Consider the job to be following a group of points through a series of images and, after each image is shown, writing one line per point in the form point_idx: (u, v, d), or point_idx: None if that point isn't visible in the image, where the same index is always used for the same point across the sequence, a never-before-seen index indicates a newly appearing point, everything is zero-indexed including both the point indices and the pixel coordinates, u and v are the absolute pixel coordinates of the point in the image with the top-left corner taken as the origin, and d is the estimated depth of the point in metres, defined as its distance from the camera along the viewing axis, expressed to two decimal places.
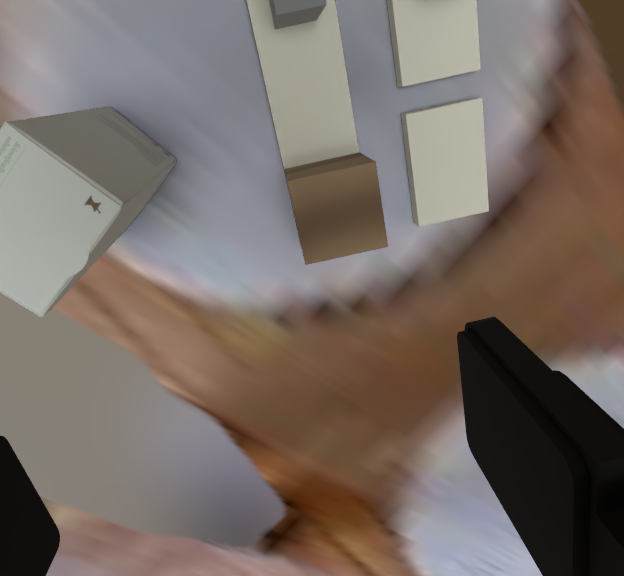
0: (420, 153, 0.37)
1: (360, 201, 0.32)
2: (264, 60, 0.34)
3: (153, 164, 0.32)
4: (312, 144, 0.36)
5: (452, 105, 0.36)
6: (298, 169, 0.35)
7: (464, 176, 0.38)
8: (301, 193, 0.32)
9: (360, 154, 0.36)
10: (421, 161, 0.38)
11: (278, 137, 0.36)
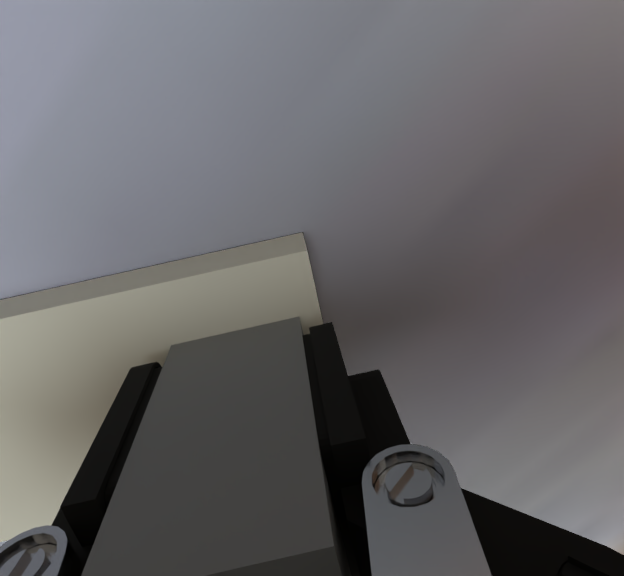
0: None
1: None
2: (73, 316, 0.10)
3: None
4: None
5: None
6: None
7: None
8: None
9: None
10: None
11: None
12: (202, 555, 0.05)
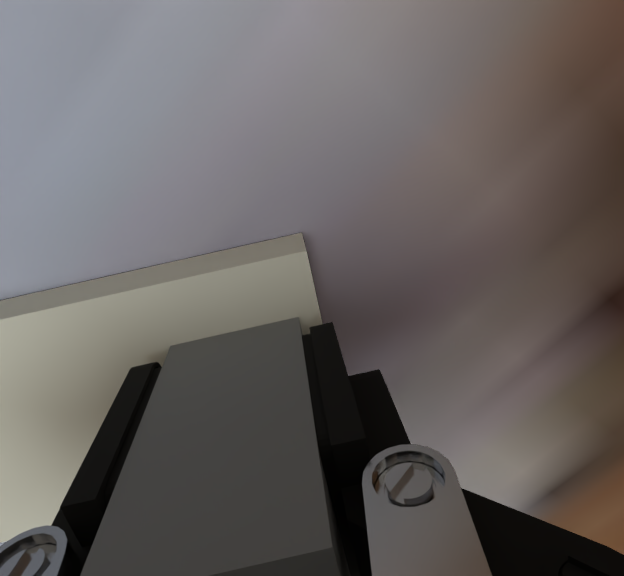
0: None
1: None
2: (73, 317, 0.10)
3: None
4: None
5: None
6: None
7: None
8: None
9: None
10: None
11: None
12: (201, 556, 0.05)
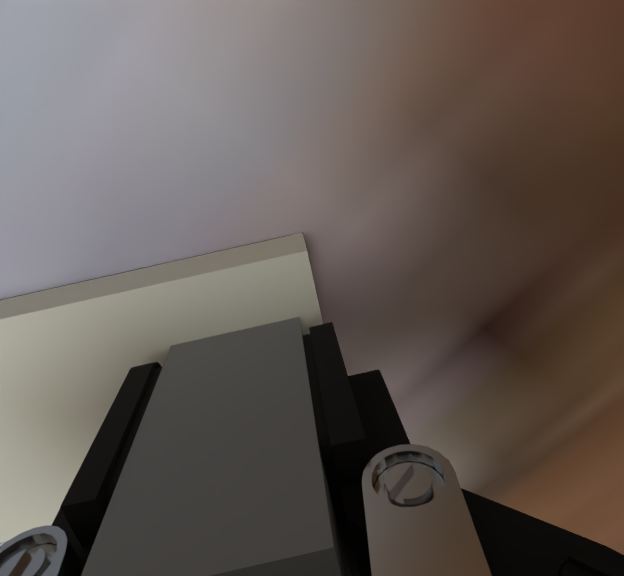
0: None
1: None
2: (73, 317, 0.10)
3: None
4: None
5: None
6: None
7: None
8: None
9: None
10: None
11: None
12: (202, 557, 0.05)
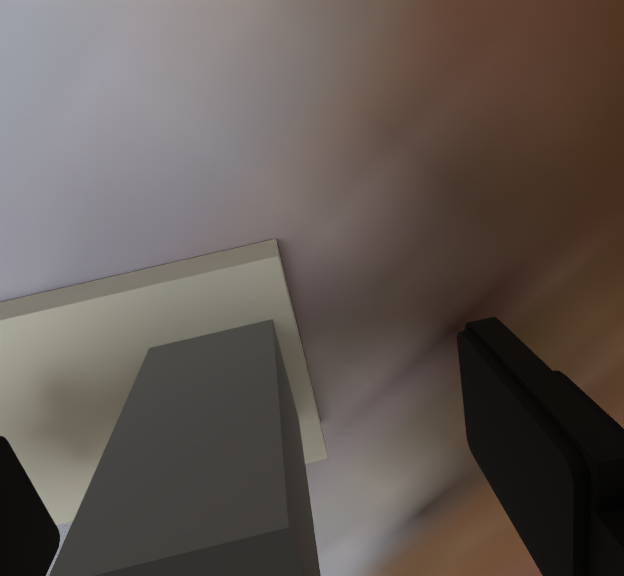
0: None
1: None
2: (54, 321, 0.11)
3: None
4: None
5: None
6: None
7: None
8: None
9: None
10: None
11: None
12: (169, 538, 0.06)
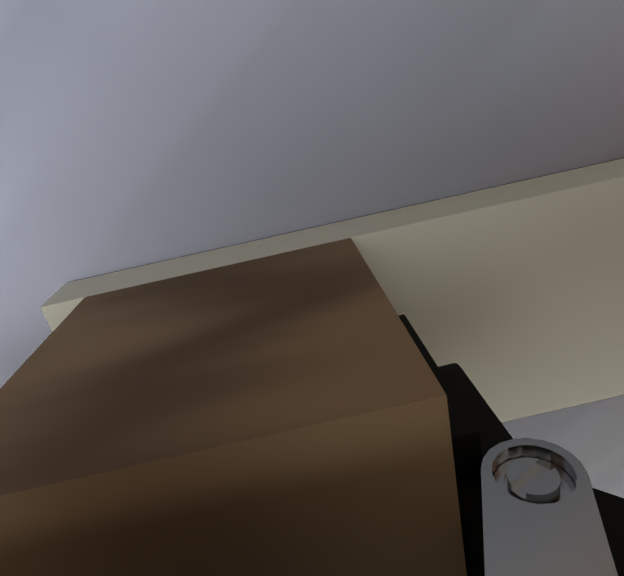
0: None
1: None
2: None
3: None
4: (423, 324, 0.11)
5: None
6: None
7: None
8: (363, 472, 0.05)
9: None
10: None
11: (455, 218, 0.10)
12: None
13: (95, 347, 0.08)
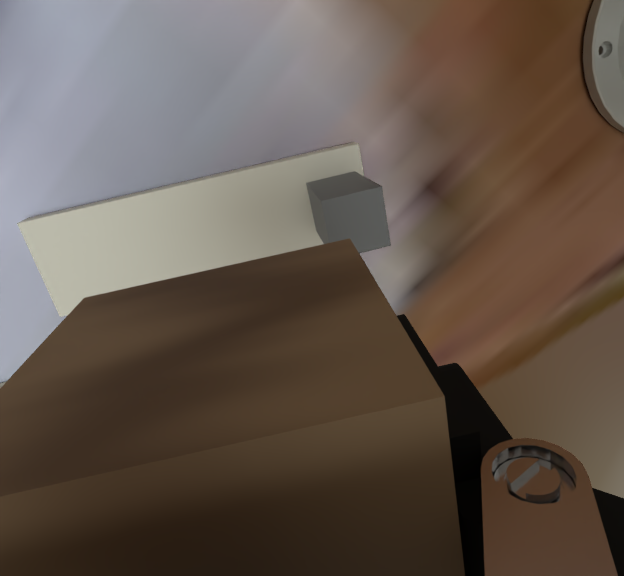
0: None
1: None
2: (271, 169, 0.27)
3: None
4: (176, 231, 0.28)
5: None
6: None
7: None
8: (362, 473, 0.05)
9: None
10: None
11: (180, 187, 0.27)
12: (349, 192, 0.23)
13: (95, 348, 0.08)
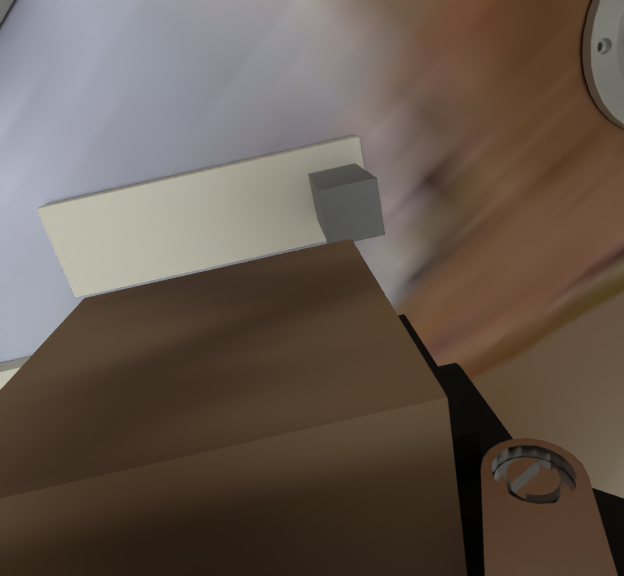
0: None
1: None
2: (275, 161, 0.29)
3: None
4: (184, 218, 0.30)
5: None
6: None
7: None
8: (364, 474, 0.05)
9: None
10: None
11: (188, 176, 0.29)
12: (345, 183, 0.24)
13: (95, 348, 0.08)
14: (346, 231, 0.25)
